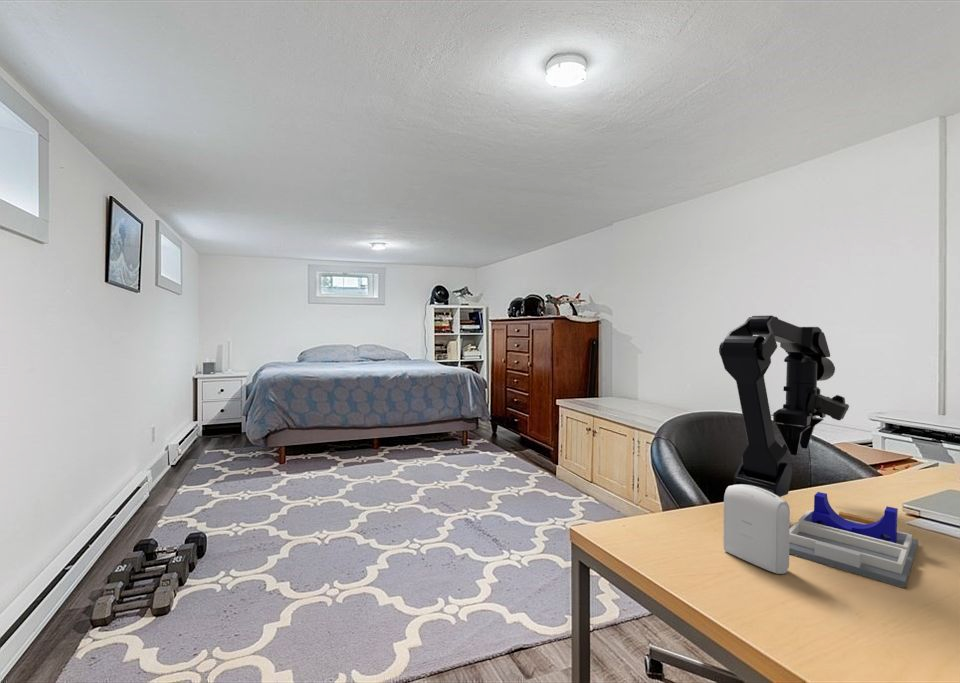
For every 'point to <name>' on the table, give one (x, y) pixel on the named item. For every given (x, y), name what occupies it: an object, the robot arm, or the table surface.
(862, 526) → the blue curved cradle
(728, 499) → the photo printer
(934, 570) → the table surface
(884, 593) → the table surface
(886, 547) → the dock board
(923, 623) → the table surface
